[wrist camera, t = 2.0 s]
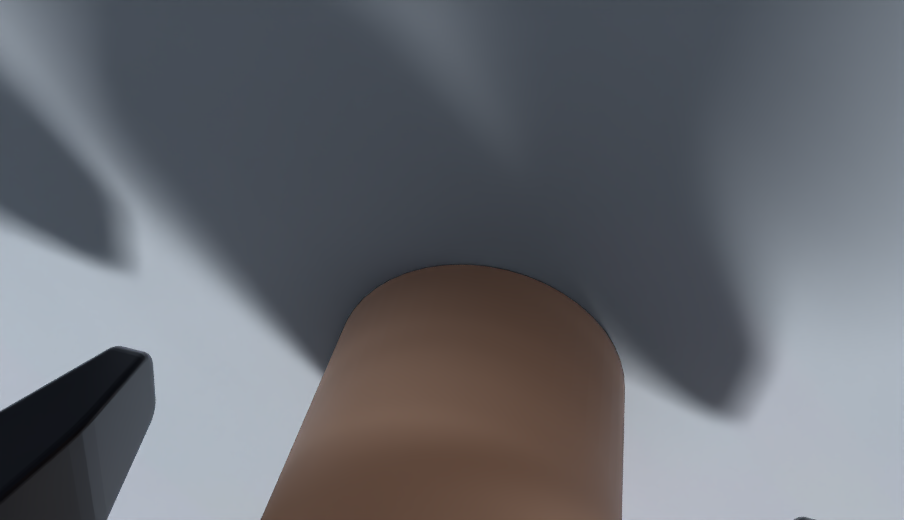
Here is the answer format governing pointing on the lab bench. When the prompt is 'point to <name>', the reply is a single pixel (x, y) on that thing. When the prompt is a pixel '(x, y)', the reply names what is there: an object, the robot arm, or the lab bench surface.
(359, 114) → the lab bench surface
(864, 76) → the lab bench surface
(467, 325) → the brown elongated piece
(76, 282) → the lab bench surface
